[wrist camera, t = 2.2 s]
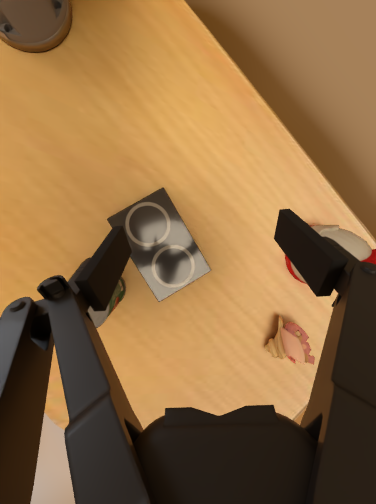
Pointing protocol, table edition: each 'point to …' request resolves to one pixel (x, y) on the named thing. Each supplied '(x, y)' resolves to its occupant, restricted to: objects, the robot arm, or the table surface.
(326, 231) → the kitchen timer
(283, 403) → the table surface
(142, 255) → the hob
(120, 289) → the canned tomato
